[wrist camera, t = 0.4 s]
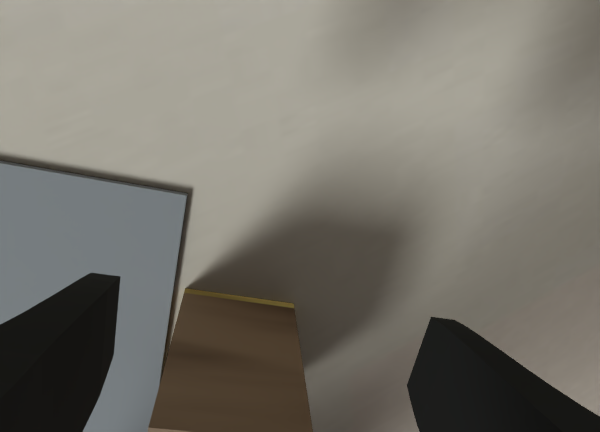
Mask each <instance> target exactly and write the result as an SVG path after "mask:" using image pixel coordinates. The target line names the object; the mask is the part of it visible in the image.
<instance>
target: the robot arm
mask: <svg viewBox="0 0 600 432" xmlns="http://www.w3.org/2000/svg"><path fill="white" fill-rule="evenodd" d="M120 277H121V276H114V275H106V274H98V273H89V274H87V275H86V276H84V277H82V278H80V279H79V280H77V281H75V282H74V283H72V284H70V285H69V286H67V287H65V288H64V289H62V290H61V291H59V292H57V293H56V294H54V295H52V296H51V297H49V298H47V299H45V300H44V301H42V302H40V303H38V304H37V305H35V306H33V307H32V308H30V309H28V310H26V311H25V312H23V313H21V314H19V315H17V316H16V317H14V318H12V319H10V320H8V321H6V322H4V323H2V324H0V432H83V430H84V428H85V426H86V424H87V422H88V420H89V418H90V416H91V413H92V411H93V409H94V407H95V405H96V403H97V401H98V399H99V397H100V394H101V391H102V388H103V385H104V383H105V380H106V377H107V374H108V371H109V368H110V365H111V362H112V359H113V356H114V347H115V335H116V323H117V312H118V300H119V288H120ZM407 387H408V391H409V396H410V400H411V404H412V408H413V412H414V415H415V419H416V422H417V426H418V428H419V431H420V432H600V417H599V416H598V415H596V414H594V413H593V412H591V411H589V410H588V409H586V408H585V407H583V406H581V405H580V404H578V403H577V402H575V401H574V400H572V399H571V398H569V397H568V396H566V395H565V394H563V393H561V392H560V391H558V390H557V389H555V388H554V387H552V386H551V385H549V384H548V383H546V382H545V381H543V380H542V379H541V378H539V377H538V376H536V375H535V374H533V373H532V372H530V371H529V370H528V369H526V368H525V367H523V366H522V365H521V364H519V363H518V362H516V361H515V360H514V359H512V358H511V357H509V356H508V355H507V354H505V353H504V352H502V351H501V350H499V349H498V348H497V347H495V346H494V345H492V344H491V343H490V342H488V341H487V340H485V339H484V338H483V337H481V336H480V335H478V334H477V333H475V332H474V331H472V330H471V329H469V328H468V327H466V326H464V325H463V324H461V323H459V322H457V321H455V320H450V319H443V318H435V317H431V319H430V321H429V324H428V327H427V330H426V333H425V336H424V338H423V341H422V344H421V347H420V350H419V353H418V356H417V358H416V361H415V364H414V367H413V370H412V373H411V375H410V378H409V381H408V384H407Z"/></svg>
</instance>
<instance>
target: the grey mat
mask: <svg viewBox="0 0 600 432" xmlns="http://www.w3.org/2000/svg"><path fill="white" fill-rule="evenodd" d="M187 194H188V193H183V192H177V191H171V190H165V189H160V188H154V187H148V186H143V185H137V184H131V183H125V182H120V181H114V180H108V179H103V178H97V177H91V176H86V175H80V174H74V173H68V172H63V171H57V170H51V169H46V168H40V167H34V166H28V165H23V164H17V163H11V162H6V161H0V324H2V323H4V322H6V321H8V320H10V319H12V318H14V317H16V316H17V315H19V314H21V313H23V312H25V311H26V310H28V309H30V308H32V307H33V306H35V305H37V304H38V303H40V302H42V301H44V300H45V299H47V298H49V297H51V296H52V295H54V294H56V293H57V292H59V291H61V290H62V289H64V288H65V287H67V286H69V285H70V284H72V283H74V282H75V281H77V280H79V279H80V278H82V277H84V276H86V275H87V274H89V273H98V274H106V275H114V276H121V277H120V288H119V300H118V312H117V323H116V335H115V347H114V356H113V359H112V362H111V365H110V368H109V371H108V374H107V377H106V380H105V383H104V385H103V388H102V391H101V394H100V397H99V399H98V401H97V403H96V405H95V407H94V409H93V411H92V413H91V416H90V418H89V420H88V422H87V424H86V426H85V428H84V430H83V432H148V427H149V423H150V419H151V415H152V412H153V408H154V404H155V400H156V397H157V393H158V389H159V385H160V379H161V373H162V366H163V359H164V352H165V345H166V338H167V331H168V325H169V318H170V311H171V304H172V297H173V290H174V283H175V276H176V270H177V263H178V256H179V249H180V242H181V235H182V228H183V222H184V215H185V208H186V201H187Z"/></svg>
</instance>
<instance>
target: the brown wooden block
mask: <svg viewBox="0 0 600 432" xmlns="http://www.w3.org/2000/svg"><path fill="white" fill-rule="evenodd" d="M148 432H313V429H312V423H311V416H310V410H309V403H308V396H307V390H306V383H305V376H304V370H303V363H302V356H301V350H300V343H299V336H298V330H297V323H296V316H295V310H294V304H293V303H286V302H279V301H272V300H265V299H258V298H250V297H243V296H236V295H229V294H222V293H215V292H208V291H201V290H194V289H187V288H185V292H184V295H183V299H182V303H181V307H180V310H179V314H178V318H177V322H176V325H175V329H174V333H173V337H172V340H171V344H170V348H169V352H168V355H167V359H166V363H165V367H164V370H163V374H162V378H161V382H160V385H159V389H158V393H157V397H156V400H155V404H154V408H153V412H152V415H151V419H150V423H149V427H148Z"/></svg>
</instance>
